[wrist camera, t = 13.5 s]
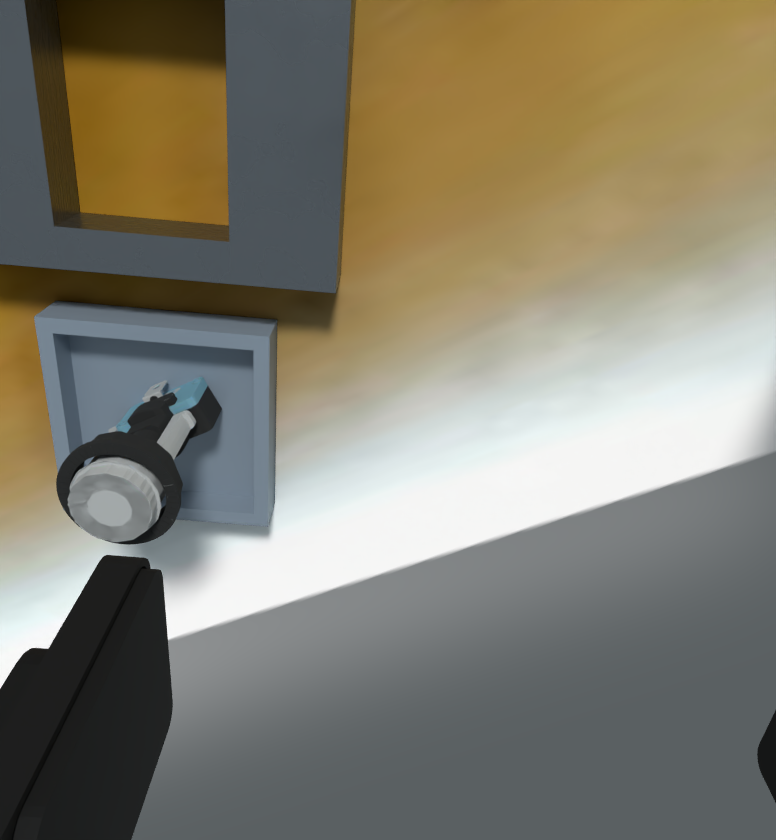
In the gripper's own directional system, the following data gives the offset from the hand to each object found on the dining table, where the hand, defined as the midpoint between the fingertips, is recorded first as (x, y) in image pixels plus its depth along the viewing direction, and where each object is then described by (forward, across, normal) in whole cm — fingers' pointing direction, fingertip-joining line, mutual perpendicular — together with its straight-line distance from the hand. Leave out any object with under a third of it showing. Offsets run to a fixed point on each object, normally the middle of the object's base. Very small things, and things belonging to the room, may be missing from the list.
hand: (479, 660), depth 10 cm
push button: (+28, +13, +11) cm, 33 cm away
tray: (+28, +13, +12) cm, 33 cm away
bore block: (+28, +13, -4) cm, 31 cm away
